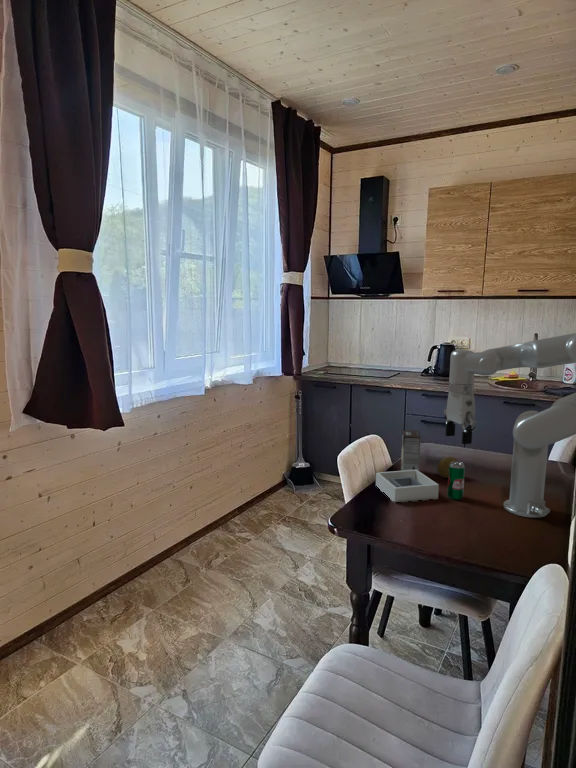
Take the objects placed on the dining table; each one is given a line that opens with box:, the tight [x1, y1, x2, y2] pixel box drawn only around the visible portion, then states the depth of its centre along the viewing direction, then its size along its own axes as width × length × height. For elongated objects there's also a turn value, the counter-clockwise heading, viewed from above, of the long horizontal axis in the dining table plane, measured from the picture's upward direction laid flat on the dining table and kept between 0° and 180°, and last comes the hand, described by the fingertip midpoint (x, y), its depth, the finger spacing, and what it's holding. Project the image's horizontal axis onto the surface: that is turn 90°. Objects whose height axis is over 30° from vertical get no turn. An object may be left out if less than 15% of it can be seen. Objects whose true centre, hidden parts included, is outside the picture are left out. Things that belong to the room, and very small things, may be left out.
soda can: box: [446, 460, 466, 501], centre depth 163 cm, size 5×5×12 cm
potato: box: [436, 456, 458, 479], centre depth 182 cm, size 7×8×8 cm
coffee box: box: [400, 429, 422, 472], centre depth 186 cm, size 9×6×16 cm
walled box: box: [375, 470, 440, 503], centre depth 168 cm, size 16×16×5 cm
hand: (458, 439), depth 161 cm, fingers open, 9 cm apart
